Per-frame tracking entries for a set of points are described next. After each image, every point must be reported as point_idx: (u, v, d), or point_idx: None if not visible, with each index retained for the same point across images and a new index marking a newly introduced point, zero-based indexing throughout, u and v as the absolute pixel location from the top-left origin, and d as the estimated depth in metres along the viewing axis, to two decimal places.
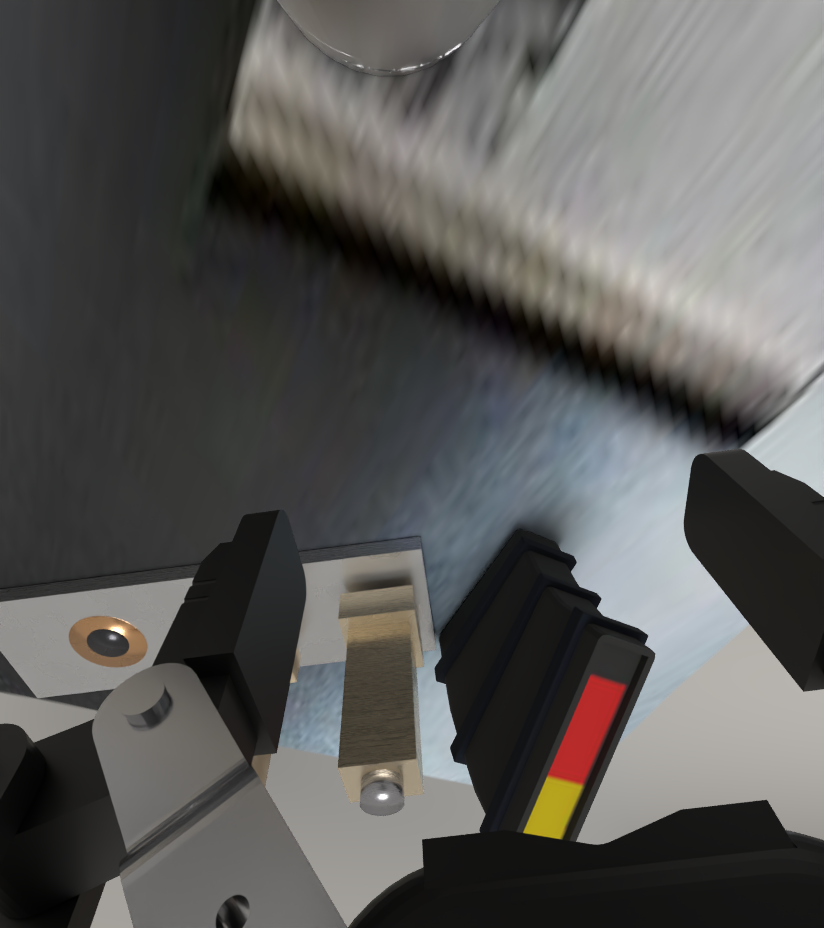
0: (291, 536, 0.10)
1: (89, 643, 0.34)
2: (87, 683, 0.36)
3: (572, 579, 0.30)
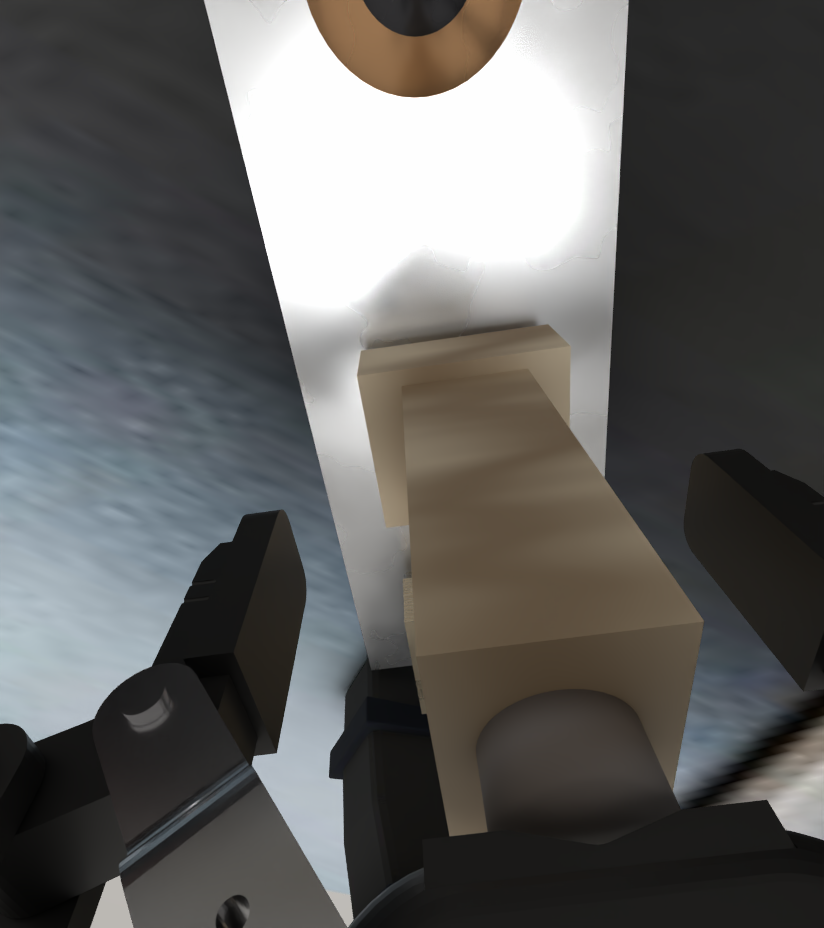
0: (291, 536, 0.10)
1: None
2: None
3: None
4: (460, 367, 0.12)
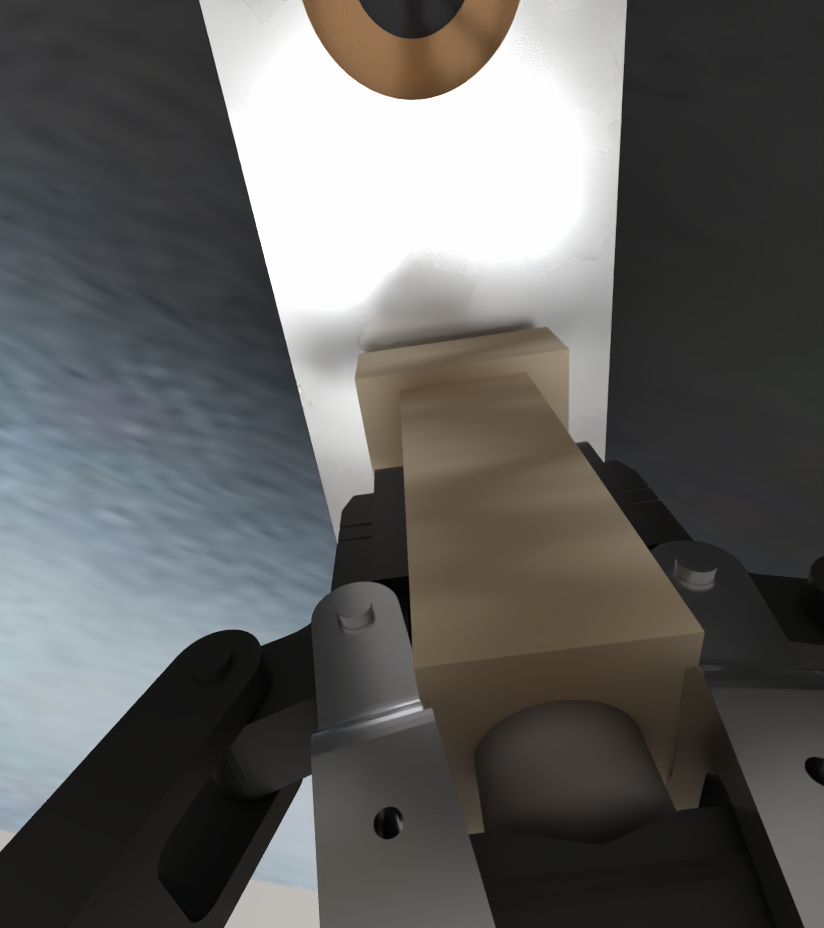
0: None
1: None
2: None
3: None
4: (458, 370, 0.12)
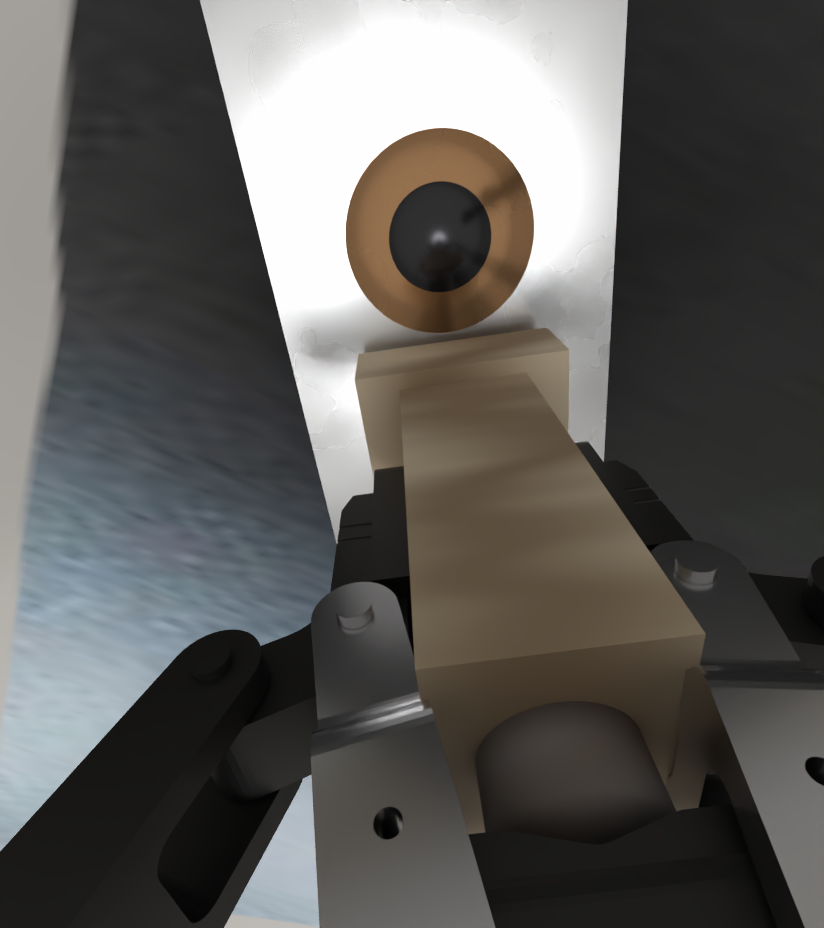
0: None
1: (443, 187, 0.13)
2: (268, 119, 0.12)
3: None
4: (459, 371, 0.12)
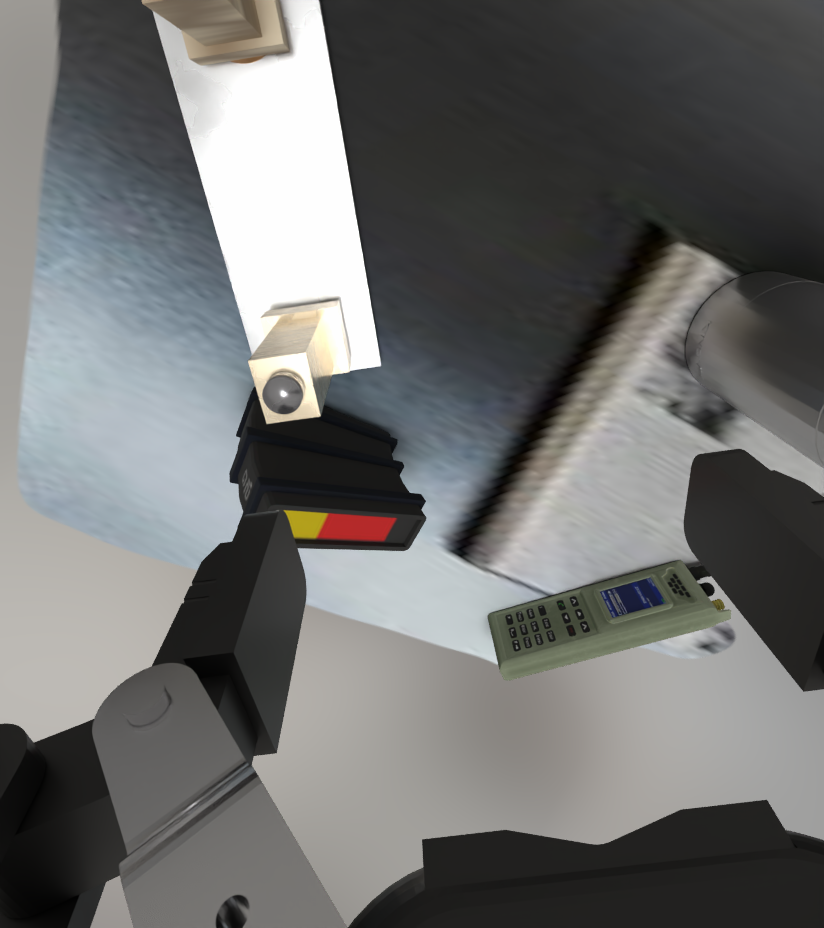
0: (291, 536, 0.10)
1: None
2: None
3: None
4: None
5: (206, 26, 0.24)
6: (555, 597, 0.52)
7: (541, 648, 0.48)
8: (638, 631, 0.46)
